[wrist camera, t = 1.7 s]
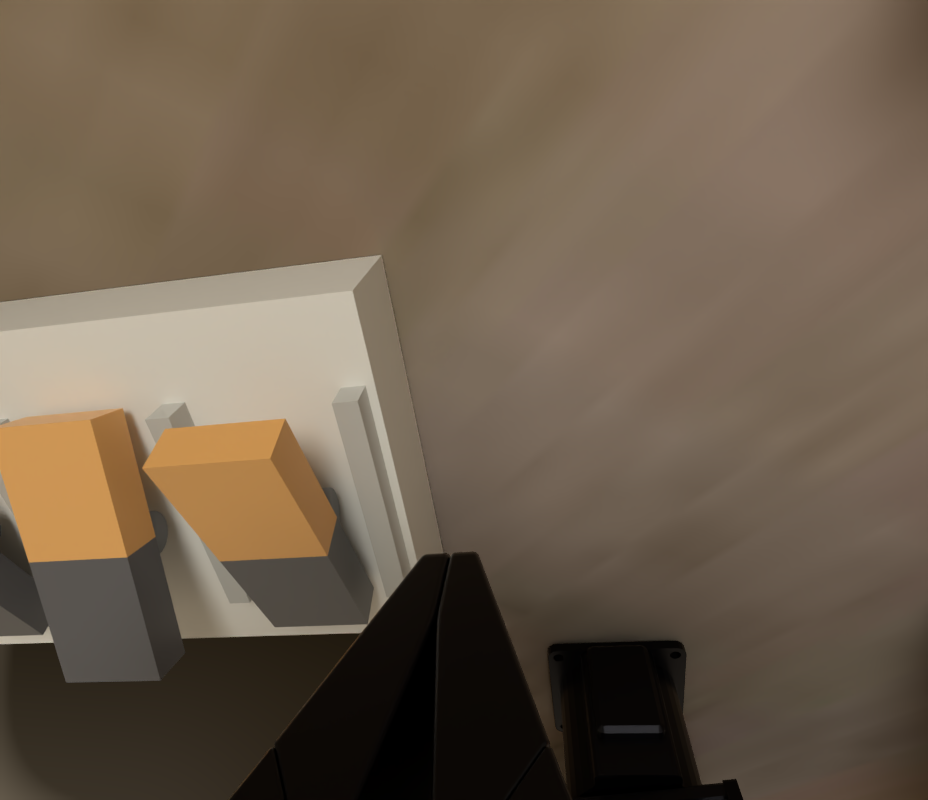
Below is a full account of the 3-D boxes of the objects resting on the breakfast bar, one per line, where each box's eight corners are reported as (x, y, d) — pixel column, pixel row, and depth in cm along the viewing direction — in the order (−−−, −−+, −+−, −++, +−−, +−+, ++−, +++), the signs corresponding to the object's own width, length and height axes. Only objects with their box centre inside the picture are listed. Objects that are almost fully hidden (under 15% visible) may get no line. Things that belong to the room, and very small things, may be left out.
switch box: (445, 562, 26) (431, 657, 22) (59, 581, 29) (-23, 668, 25) (381, 255, 20) (343, 302, 15) (-111, 316, 22) (-264, 370, 18)
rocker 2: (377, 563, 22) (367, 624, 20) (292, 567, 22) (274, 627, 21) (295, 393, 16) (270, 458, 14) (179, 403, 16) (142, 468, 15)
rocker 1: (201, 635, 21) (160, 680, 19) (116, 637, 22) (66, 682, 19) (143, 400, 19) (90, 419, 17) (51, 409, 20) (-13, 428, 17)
